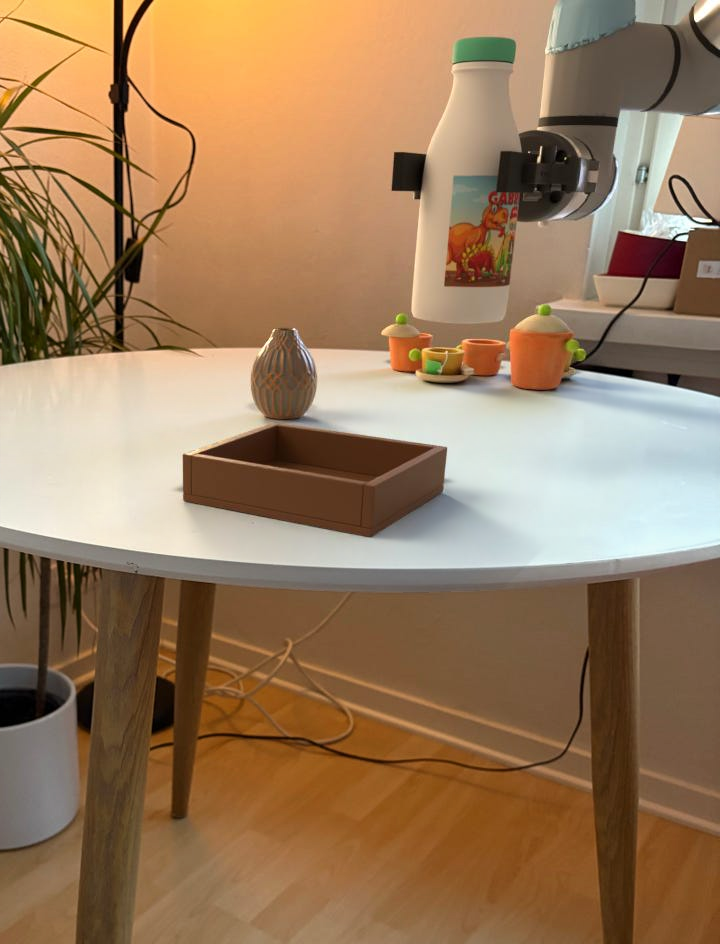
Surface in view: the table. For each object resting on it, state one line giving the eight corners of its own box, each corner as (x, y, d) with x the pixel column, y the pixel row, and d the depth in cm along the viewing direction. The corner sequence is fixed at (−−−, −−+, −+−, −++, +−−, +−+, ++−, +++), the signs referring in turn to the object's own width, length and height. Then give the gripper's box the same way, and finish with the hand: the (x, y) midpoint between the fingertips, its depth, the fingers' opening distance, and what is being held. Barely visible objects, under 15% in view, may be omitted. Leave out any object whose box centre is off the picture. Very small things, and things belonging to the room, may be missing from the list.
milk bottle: (403, 322, 79) (425, 33, 71) (417, 312, 86) (439, 47, 78) (501, 327, 77) (536, 30, 69) (508, 317, 84) (541, 44, 76)
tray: (443, 491, 78) (447, 446, 76) (370, 537, 67) (374, 486, 66) (272, 463, 85) (273, 422, 84) (182, 500, 75) (182, 454, 73)
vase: (236, 414, 104) (237, 327, 100) (284, 406, 108) (287, 323, 104) (280, 425, 99) (283, 335, 96) (329, 416, 103) (333, 330, 100)
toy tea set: (581, 374, 130) (593, 297, 126) (585, 394, 117) (598, 309, 113) (385, 363, 137) (390, 289, 133) (366, 381, 123) (371, 300, 119)
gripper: (648, 224, 88) (580, 230, 70) (432, 218, 97) (324, 222, 80) (664, 129, 84) (597, 110, 67) (439, 133, 94) (329, 118, 77)
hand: (449, 171), depth 73 cm, fingers closed on milk bottle, 8 cm apart
